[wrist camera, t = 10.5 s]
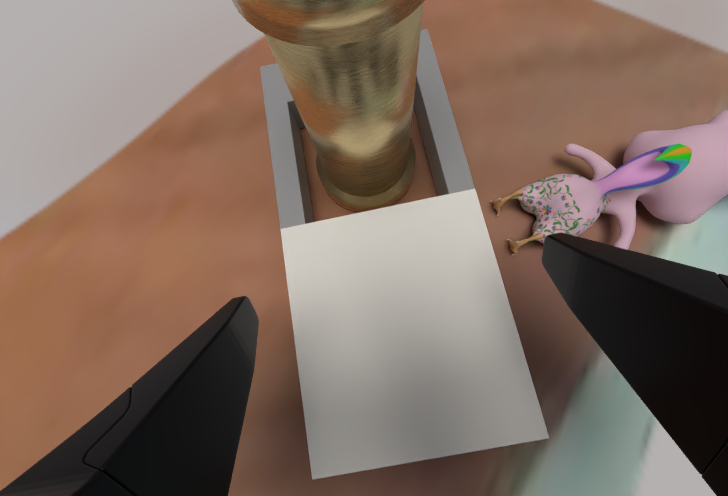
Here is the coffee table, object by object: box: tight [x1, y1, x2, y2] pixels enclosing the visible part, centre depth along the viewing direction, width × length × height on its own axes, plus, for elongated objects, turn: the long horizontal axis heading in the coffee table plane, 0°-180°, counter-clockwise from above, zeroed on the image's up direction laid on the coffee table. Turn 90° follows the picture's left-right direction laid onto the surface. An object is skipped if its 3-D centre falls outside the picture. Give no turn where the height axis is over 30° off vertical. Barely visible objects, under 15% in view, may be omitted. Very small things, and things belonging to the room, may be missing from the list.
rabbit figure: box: [490, 109, 728, 255], centre depth 15 cm, size 6×6×15 cm
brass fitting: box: [232, 0, 424, 213], centre depth 13 cm, size 6×6×13 cm
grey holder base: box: [260, 29, 549, 480], centre depth 17 cm, size 22×10×2 cm, turn 11°
